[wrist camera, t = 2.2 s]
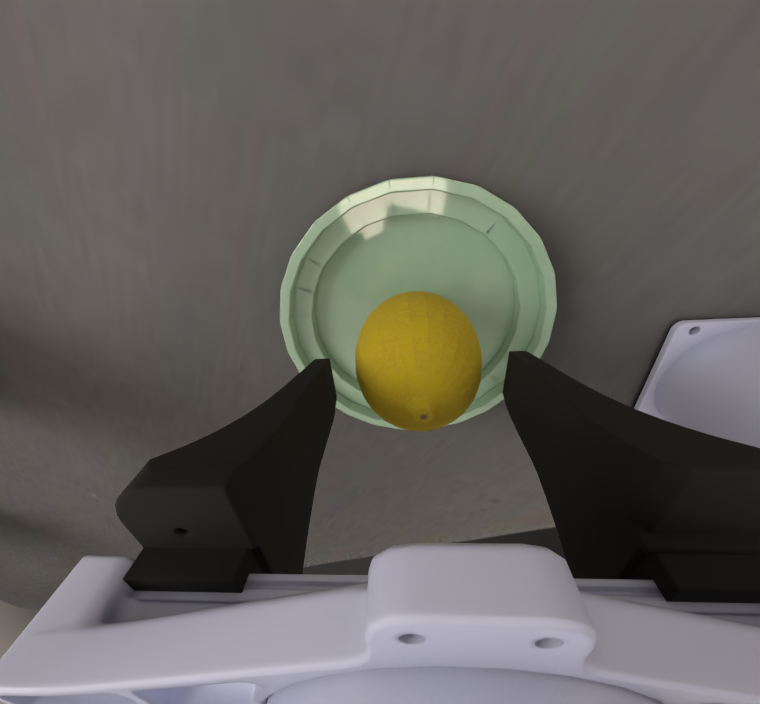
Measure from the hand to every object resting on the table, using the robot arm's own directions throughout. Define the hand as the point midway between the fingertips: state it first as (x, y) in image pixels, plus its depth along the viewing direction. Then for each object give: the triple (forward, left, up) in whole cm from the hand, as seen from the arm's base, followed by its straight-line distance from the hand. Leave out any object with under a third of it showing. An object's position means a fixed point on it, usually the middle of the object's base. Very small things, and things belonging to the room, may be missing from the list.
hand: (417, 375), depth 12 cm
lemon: (0, 0, -6) cm, 6 cm away
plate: (0, 0, -6) cm, 6 cm away
